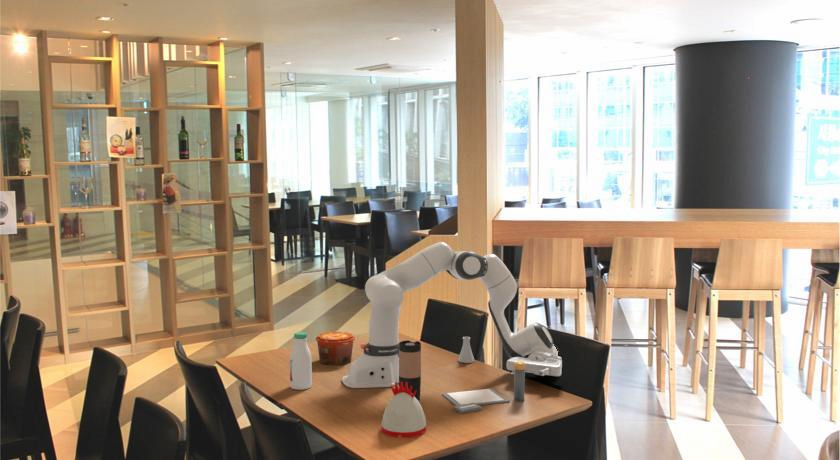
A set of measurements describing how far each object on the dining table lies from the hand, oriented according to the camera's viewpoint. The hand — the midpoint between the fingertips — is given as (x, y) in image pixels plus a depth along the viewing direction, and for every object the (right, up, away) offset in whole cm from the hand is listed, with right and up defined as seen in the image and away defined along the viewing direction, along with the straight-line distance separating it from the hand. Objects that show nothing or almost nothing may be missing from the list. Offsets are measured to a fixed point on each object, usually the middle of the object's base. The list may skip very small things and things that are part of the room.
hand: (528, 371), depth 276 cm
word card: (-23, -9, -20) cm, 32 cm away
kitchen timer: (-44, -11, -39) cm, 60 cm away
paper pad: (-20, -8, -9) cm, 23 cm away
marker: (-5, -8, -10) cm, 13 cm away
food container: (-74, -3, +39) cm, 83 cm away
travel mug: (-43, -8, -10) cm, 45 cm away
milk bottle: (-82, -6, +3) cm, 83 cm away
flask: (-20, -3, +40) cm, 45 cm away
